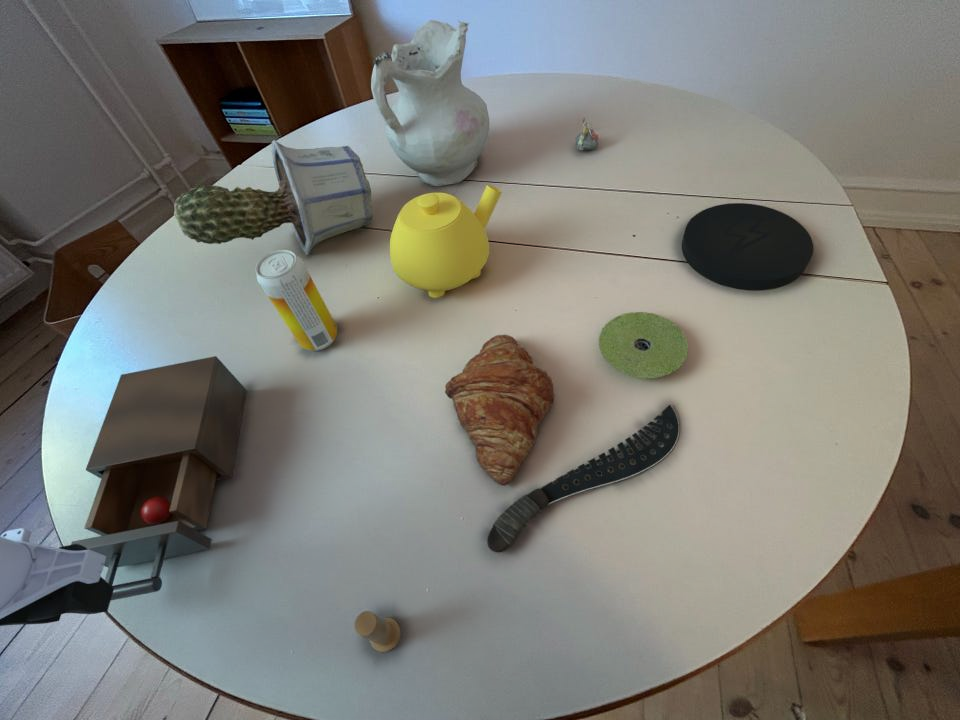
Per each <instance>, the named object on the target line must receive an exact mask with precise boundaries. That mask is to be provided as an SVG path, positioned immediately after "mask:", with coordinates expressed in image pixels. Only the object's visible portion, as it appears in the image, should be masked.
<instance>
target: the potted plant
mask: <svg viewBox="0 0 960 720" xmlns="http://www.w3.org/2000/svg"><path fill="white" fill-rule="evenodd" d="M271 157H272V163H273V168H274V172H275V175H276V179H277V182H278V186H279V187H278V188H277V190H275V191H266V190H262V189H259V188H257V189H255V188H252V187H251V186H249V187H248V186H247V187H246V188H240V187H239V186H235V187H234V188H233V189H232V190H229V188H227V187H223V186H220V185H219V186H218V185H212V184H208V185H206V186H205V184H203V185H199V186H197V187H193V188H190V189H189V191H188V192H185V193H181V196H178V197H177V198H176V199H175V202H174V206H173V208H174V212H173V216H174V219H175V220H176V222H177V223H178V226H179V228H180V230H181V232H182V233H183V234H184V236H187V237H188V238H189V239H190V240H194V241H195V242H196V243H203V244H207V245H213V244H217V245H221V244H222V243H224V244H225V243H229V242H231V241H233V240H235V239H240V238H241V239H249V240H252V241H253V240H255V239H257V238H262V237H263V235H264V234H267V233H269V232H271V231H272V230H275V229H277V228H280V227H281V226H282V225H283V224H291V228H292V230H293V233H294V234H295V237H296V240H297V242H298V243H299V244H300V245H299V246H300V248H301V249H302V250H303V252H304V254H305V255H309V254H310V252H311V251H312V248H313V247H314V246H315V245H317V244H318V243H320V242H321V241H324V240H327V239H330V238H332V237H335V236H338V235H341V234H343V233H346V232H349V231H353V230H356V229H361V228H363V227H366V226H367V225H368V224H370V222H371V221H372V220H373V214H374V207H373V203H372V202H373V201H372V190H371V189H372V188H371V185H370V181H369V180H368V179H367V176H366V172H365V169H364V166H363V164H362V161H361V158H360V156H359V154H357V153H356V152H355V151H354V150H353V148H351V146H349V145H344V146H328V147H326V146H325V147H315V148H293V147H287V146H285V145H283V144H281V143H280V142H278V141H277V140H275V139H274V140H272V141H271Z"/></svg>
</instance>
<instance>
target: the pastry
mask: <svg viewBox="0 0 960 720" xmlns="http://www.w3.org/2000/svg"><path fill="white" fill-rule="evenodd" d="M444 387H445V390H444V393H445V394H446V396H447V398H448V399H451V400H452V402H453V407H454V410H455V412H456V415H457V420H458V421H459V424H460V426H461V428H462V429H463V430H465V432H466V434H467V436H468V439H469V440H470V442H471V443H472V444H473V446H474V450H475V456H476V460H477V462H478V464H479V467H480V468H482V470H483V471H484V473H486V475H488V476H489V477H490V479H492V480H494V482H495V483H497V484H498V485H500V486H507V485H509V484H510V482H511V481H513V479H515V477H516V475H517V474H518V472H519V469H520V466H521V464H522V463H523V462H524V460H525V459H526V458H527V456H528V454H529V453H530V452H531V449H532V447H533V446H534V444H535V441H536V439H537V436H538V431H537V428H538V427H539V425H540V424H541V423H542V421H543V420H544V418H545V416H546V415H547V413H548V412H549V411H550V409H551V408H552V407H553V405H554V403H555V396H556V395H555V388H554V383H553V380H552V377H551V376H550V375H549V374H548V372H547V370H543V369H542V368H539V367H538V366H536V365H534V358H533V356H531V354H530V353H529V351H528V350H527V349H525V348H523V346H520V345H519V343H518V341H517V340H516V339H515V338H514V337H513V336H511V335H508V334H497V335H494V336H492V337H491V338H490V339H488V340H487V341H486V342H484V343H483V344H482V346H481V348H480V350H479V353H477V354H475V355H474V356H473V357H472V358H470V359H469V361H468V362H467V363H466V364H465V366H464V367H463V369H462V372H460V373H458V374H455V375H454V376H452V377H451V378H450V379H449V380H448V381H447V382H446V384H445V386H444Z"/></svg>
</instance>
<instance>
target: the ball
mask: <svg viewBox="0 0 960 720" xmlns="http://www.w3.org/2000/svg"><path fill="white" fill-rule="evenodd" d="M170 506H171V503H170V502H169V501H168V500H167V499H165V498H162V497H155V498H152V499H150V500H148V501H147V502H145V503H144V505H143V506H142V508H141V517H142V519H143V520H144V521H145V522H146V523H148V524H159V523H162V522H164V521H165V520H166V519H167V518H168V517H169V516H170V514H171V512H169V510H170Z"/></svg>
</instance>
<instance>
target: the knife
mask: <svg viewBox="0 0 960 720" xmlns="http://www.w3.org/2000/svg"><path fill="white" fill-rule="evenodd" d="M678 418H679V417H678V415H677V413H676V411H675V409H674V407H673V406H672V405H671V404H668V405H667V407H665V408H664V409H663V410H662V411H661V413H660V414H658V415H656V416H655V417H654V418H653V420H654V421H651V420H650V421H649V422H648V423H647V424H646V425H644V426H643V427H642V429H641V428H640V429H639V430H637V432H634V433H633V434H631V436H628V437H627V438H625V439H624V440H625V442H626V443H627V445H625V443H624V442H623V441H620V442H619V443H617V445H616V446H617V448H618V449H617V450H616V448H615V446H612V447H611V448H609V449H608V450H607V451H608V454H606V453H605V452H604V451H603V452H602V453H600V454H598V458H597V459H596V458H595V457H593V458H591V459H589V460H587V462H588V463H586V464H585V463H582V464H580V465H578V466H577V467H576V468H573V469H571V470H569V471H567V472H566V473H565V474H562V475H560V476H558V477H557V478H555V480H553V481H550V482H548V483H547V484H545V485H543V486H542V487H540V488H536V489H534V490H532V491H530V492H529V493H528V494H525V495H523V496H521V497H519V498H518V499H517V500H516V501H515V502H513V503H512V504H511V505H509V507H507V508H506V509H505V510H504V511H503V512H502V513H501V514H500V515H499V516H498V517H497V519H496V520H495V522H494V523H493V524H492V527H491V529H490V531H489V533H488V536H487V540H486V541H487V543H486V544H487V546H488V548H489V549H490V551H492V552H493V553H498V554H500V553H503V552H505V551H506V550H508V549H509V548H510V547H512V545H514V542H515V541H516V540H517V539H518V537H519V536H520V534H521V532H522V531H523V530H524V528H525V527H526V526H527V524H528V523H529V522H530V521H531V520H532V519H533V518H535V517H537V515H539V514H540V513H541V512H542V511H543V510H545V509H546V508H547V507H548V506H549V505H550V504H552V503H555V502H557V501H560V500H562V499H565V498H568V497H571V496H573V495H576V494H579V493H582V492H586V491H589V490H591V489H595V488H599V487H602V486H607V485H610V484H614V483H617V482H621V481H622V480H626V479H629V478H631V477H633V476H636V475H638V474H640V473H642V472H644V471H646V470H648V469H650V468H651V467H653V466H655V465H657V464H658V463H660V462H661V461H662V460H663V459H665V458H666V457H667V456H668V455H669V454H670V453H671V452H672V450H673V449H674V448H675V446H676V444H677V442H678V439H679V435H680V423H679V419H678ZM647 425H648V426H647ZM669 426H671V427H669ZM656 429H658V430H656ZM644 430H645V431H644ZM640 435H641V436H640ZM651 435H653V436H654V437H652V436H651ZM665 435H667V436H668V437H666V436H665ZM631 437H633V439H634V440H633V439H632V438H631ZM645 440H646V441H647V442H648V443H646V442H645ZM660 444H662V445H663V446H660ZM637 445H639V446H640V447H641V449H640V448H639V447H638V446H637ZM629 450H631V452H632V453H630V452H629ZM652 451H654V453H652ZM620 454H621V455H622V456H621V457H620V456H619V455H620ZM642 457H644V458H645V459H643V458H642ZM609 459H612V460H609ZM632 461H633V462H634V464H632ZM620 465H622V466H623V468H622V467H620ZM609 469H612V471H609ZM597 473H600V475H598V474H597ZM587 476H588V477H589V479H587V478H586V477H587ZM575 481H578V483H575ZM564 486H566V487H567V488H566V489H565V488H564Z"/></svg>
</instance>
